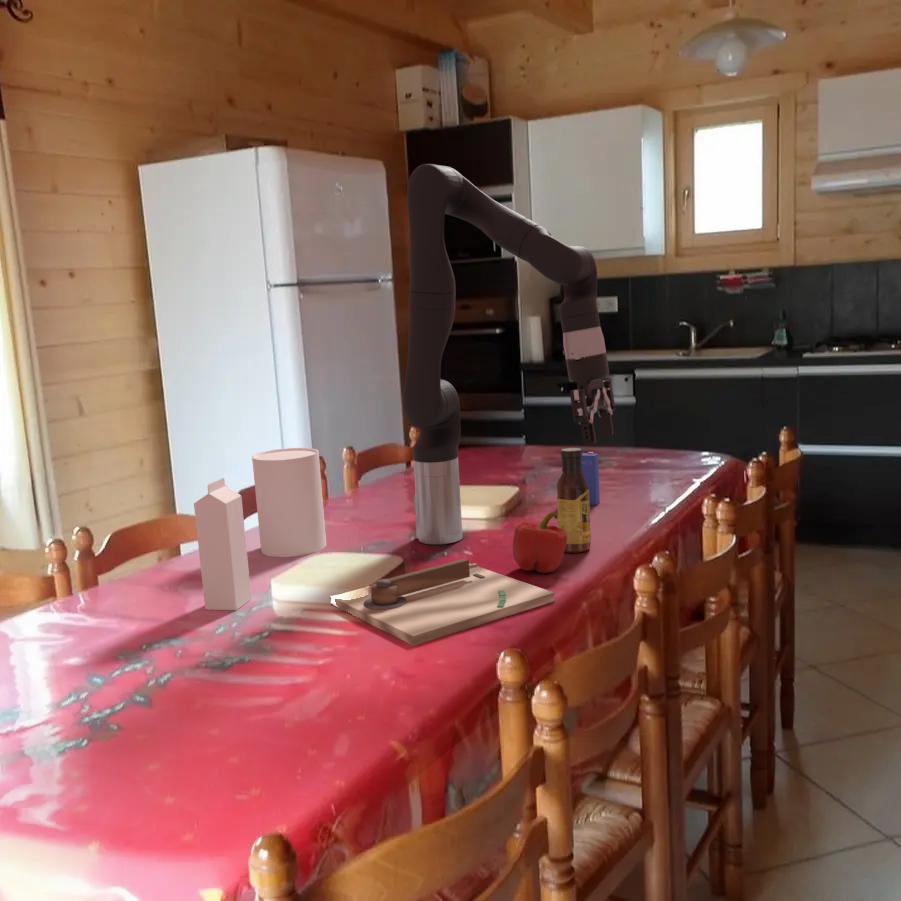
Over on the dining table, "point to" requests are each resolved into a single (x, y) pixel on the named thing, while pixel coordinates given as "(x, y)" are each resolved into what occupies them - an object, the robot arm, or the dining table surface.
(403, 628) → the dial board
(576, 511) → the sauce bottle
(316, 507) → the canister
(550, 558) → the vegetable
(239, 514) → the milk
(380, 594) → the dial lever
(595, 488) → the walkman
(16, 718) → the dining table surface
